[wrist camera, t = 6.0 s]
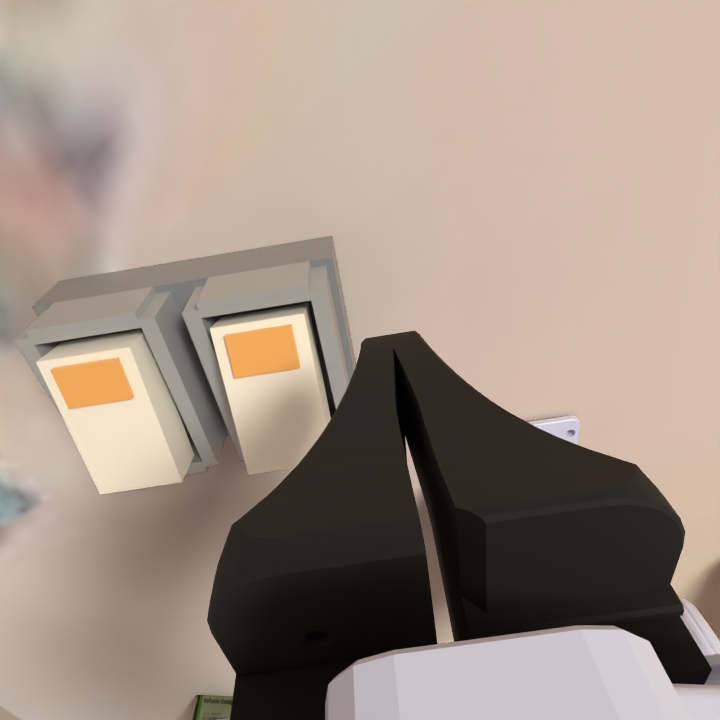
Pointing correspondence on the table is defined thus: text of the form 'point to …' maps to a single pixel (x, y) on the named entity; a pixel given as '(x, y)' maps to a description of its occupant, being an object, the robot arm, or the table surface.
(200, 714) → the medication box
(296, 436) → the breaker
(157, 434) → the breaker
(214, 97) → the table surface
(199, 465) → the breaker panel
